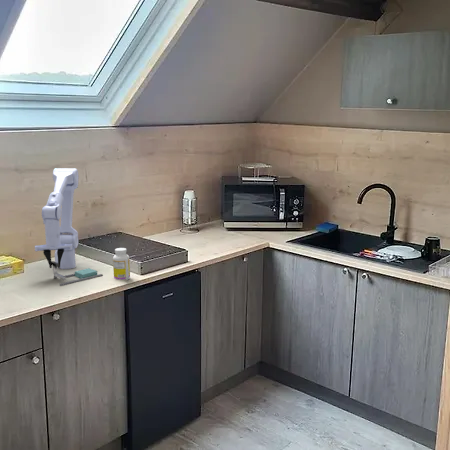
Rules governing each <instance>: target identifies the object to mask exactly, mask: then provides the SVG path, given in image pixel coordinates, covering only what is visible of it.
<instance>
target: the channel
mask: <svg viewBox="0 0 450 450" xmlns="http://www.w3.org/2000/svg"><path fill="white" fill-rule="evenodd" d="M64 276H65V279H67V278H70V277H71V278H72V277H75V272H74V273H70V274H67V275H66V274H65V275H64ZM100 277H103V273H99V274H98V273H97V275H94V276H90V277H86V278H82V279H81V278H77V279H72V280H69V281H65V282H61V283H59V286H60V287H64V286H68V285H71V284H76V283H79V282H84V281H88V280H91V279H96V278H100Z"/></svg>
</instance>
